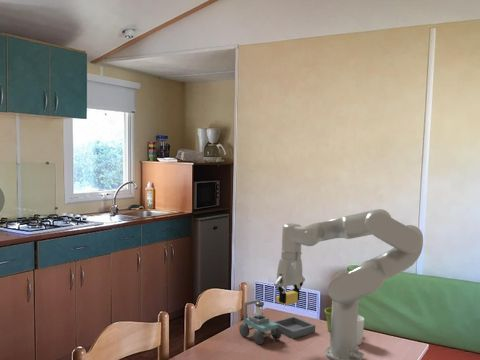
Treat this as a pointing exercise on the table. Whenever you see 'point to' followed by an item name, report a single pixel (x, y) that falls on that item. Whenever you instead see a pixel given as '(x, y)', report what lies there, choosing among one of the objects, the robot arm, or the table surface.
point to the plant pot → (328, 318)
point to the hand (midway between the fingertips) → (289, 300)
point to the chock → (289, 298)
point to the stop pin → (259, 310)
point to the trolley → (258, 326)
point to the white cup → (359, 329)
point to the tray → (295, 327)
